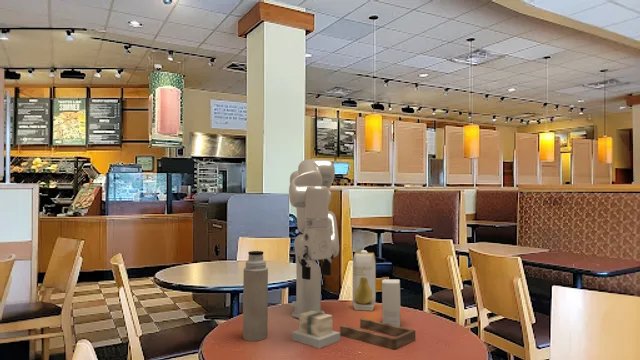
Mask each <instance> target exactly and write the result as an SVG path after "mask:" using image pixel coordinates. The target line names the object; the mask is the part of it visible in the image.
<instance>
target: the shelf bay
mask: <svg viewBox="0 0 640 360" xmlns="http://www.w3.org/2000/svg"><path fill="white" fill-rule="evenodd" d="M359 324H360V325H359V328H355V327H351V326H347V325H344V324H343V325H340V326H339V327H340V329H339V331H340V336H342V337H347V338H351V339H353V340H357V341H360V340H362V341H361V342H364V341H365V343H368V344H372V345H377V346H380V347H383V348H385V349H386V348H387V349H390V350H391V349H392V350H397V349H399V348H401V347H403V346H406V345H407V344H410V343H412V342H415V341H416V330H414V329H410V328H407V327H402V326H400V327H398V326H393V325H389V324H385V323H383V322H380V321H375V320H371V319H367V318H360V319H359ZM368 329H369V331H367V330H368ZM371 331H372V332H371ZM375 332H377V333H375ZM379 333H380V334H379ZM383 334H385V335H383ZM388 335H389V336H388ZM391 336H392V337H391Z"/></svg>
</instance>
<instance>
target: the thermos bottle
mask: <svg viewBox="0 0 640 360" xmlns="http://www.w3.org/2000/svg"><path fill="white" fill-rule="evenodd" d="M247 252H248V259H247V260H246V261H245V267H244V268H243V283H242V284H243V292H242V293H243V295H242V296H243V299H242V300H243V301H242V302H243V303H242V307H243V308H242V338H243V339H244V340H245V341H250V342H252V341H253V342H254V341H255V342H256V341H257V342H258V341H262V340H265V339H266V338H268V331H269V330H268V316H269V315H268V310H269V309H268V304H269V303H268V302H269V299H268V294H269V293H268V292H269V285H268V284H269V276H268V275H269V268H268V267H266V266H267V262H266V261H265V260H264V251H261V250H252V251H247Z"/></svg>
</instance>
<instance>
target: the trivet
mask: <svg viewBox="0 0 640 360" xmlns="http://www.w3.org/2000/svg"><path fill="white" fill-rule="evenodd" d="M291 341H296V342H298V343H301V344H304V345H308V346H311V347H314V348H316V349H321V348H324V347H327V346H329V345H332V344H335V343H337V342H340V341H341V335H340V332H339V331H336V330H332V333H330V334H328V335H325V336H322V337H317V336H314V335H310V334H307V333H303V332H300V331H299V329H297V330H294V331H291Z"/></svg>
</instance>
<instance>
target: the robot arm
mask: <svg viewBox="0 0 640 360" xmlns="http://www.w3.org/2000/svg"><path fill="white" fill-rule="evenodd" d="M297 167H298V168H297V170H296V171H295V170H294V171H292V173H290V176H289V187H288V196H289V203H290V205H291V206H292V207H293V208H296V223H297V230H298V232H300V233H301V234H298V235H297V236H295V238H294V242H293V243H294V244H293V245H294V252H295V253H294V254H295V262H296V264H295V265H296V269H295V270H296V295H295V296H296V298H295V299H296V300H293V301H292V303H290V307H292V308H293V309H294V310H293V311H292V313H291V315H292V317H294V318H296V319H299V314H302V313H305V312H309V311H315V312H321V313H324V314H326V313H325V310H322V307H321V306H322V303H321V301H322V293H321V292H322V287H321V286H322V276H321V275H323V276H331V273H332V272H331V271H332V268H331V267H332V266H331V264H332V263H333V259H334V258H336V257H337V256H338V255H339V253H340V244H339V243H340V241H339V240H340V239H339V230H338V223H337V218H336V214H335V212H333V211H332V210H329V204H330V203H331V200H332V192H331V190H330V189H331V187H332V184H333V182H334V180H335V179H334V178H335V173H336V168H335V164H334V162H333V161H331V160H330V159H328V158H327V159H326V158H325V159H324V158H322V159H320V158H318V159H316V158H315V159H314V158H312V159H311V158H309V159H308V158H307V159H304V160H302V161H301V162H300V163H299V165H298V166H297ZM320 260H322V261H323V262H322V264H321V265H322V266H321V267H320V265H319V264H318V263H317V262H316V261H320ZM321 270H322V271H321Z"/></svg>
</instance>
